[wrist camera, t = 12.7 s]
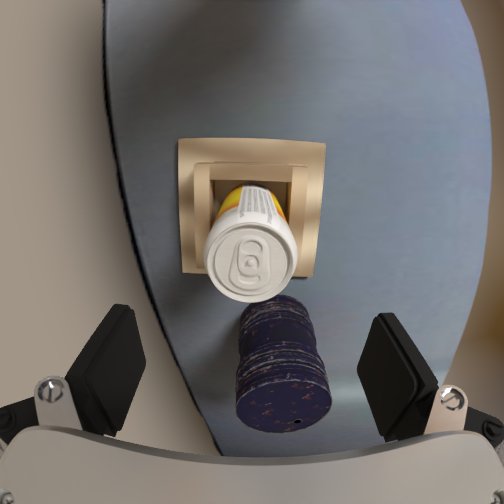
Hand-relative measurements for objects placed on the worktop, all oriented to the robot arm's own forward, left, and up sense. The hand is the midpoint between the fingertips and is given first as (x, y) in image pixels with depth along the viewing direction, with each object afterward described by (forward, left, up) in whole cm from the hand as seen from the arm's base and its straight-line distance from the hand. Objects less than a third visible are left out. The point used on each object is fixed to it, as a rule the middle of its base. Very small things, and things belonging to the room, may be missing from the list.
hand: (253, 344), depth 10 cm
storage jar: (+16, +4, -24) cm, 29 cm away
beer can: (0, 0, -23) cm, 23 cm away
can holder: (0, 0, -23) cm, 23 cm away
